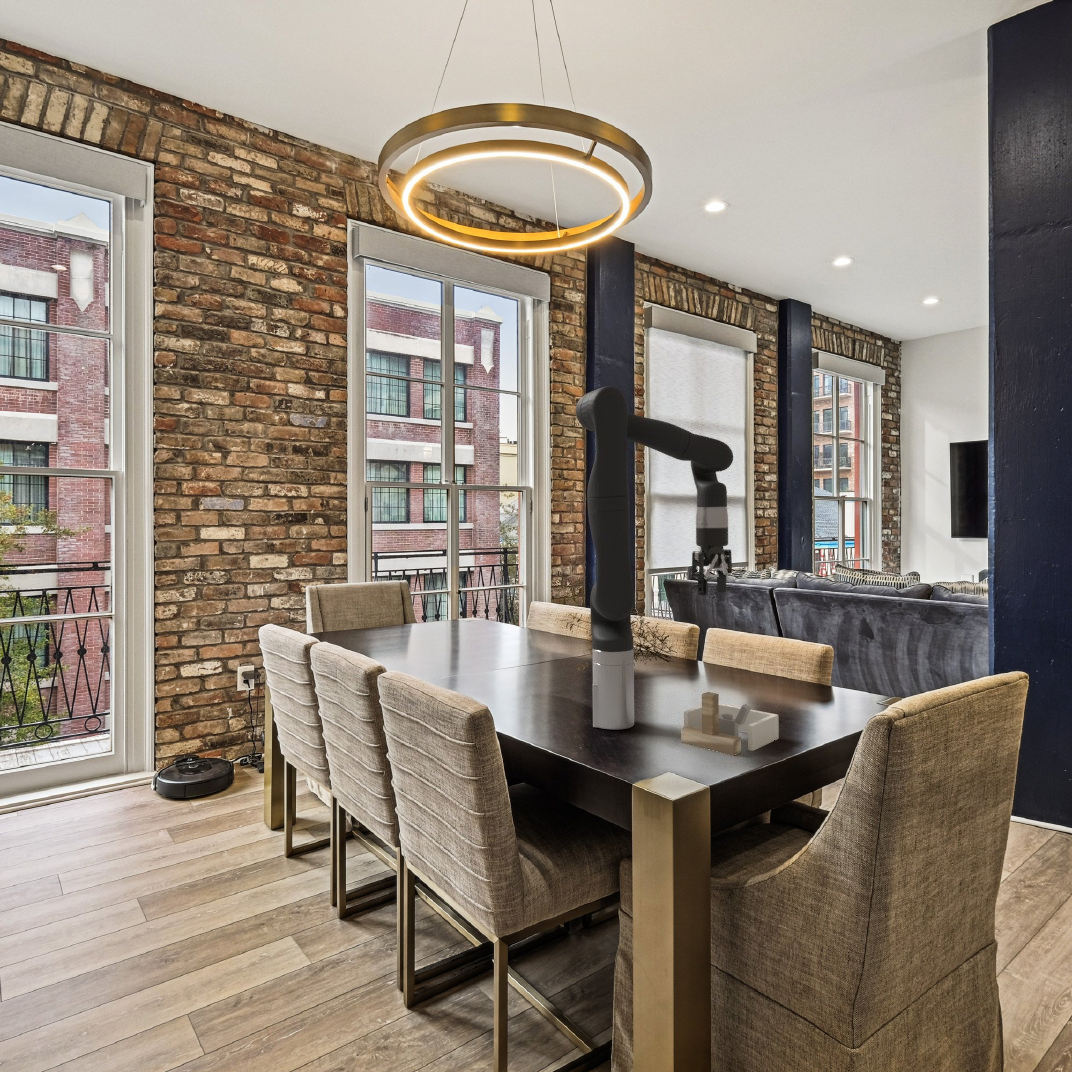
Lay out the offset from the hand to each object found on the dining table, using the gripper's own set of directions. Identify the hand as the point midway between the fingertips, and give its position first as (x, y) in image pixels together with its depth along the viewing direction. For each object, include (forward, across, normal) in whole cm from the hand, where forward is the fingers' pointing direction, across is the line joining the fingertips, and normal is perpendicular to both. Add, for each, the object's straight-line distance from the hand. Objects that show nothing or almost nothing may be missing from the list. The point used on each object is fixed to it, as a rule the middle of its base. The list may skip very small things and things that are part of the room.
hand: (712, 593), depth 176 cm
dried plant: (+28, +11, +39) cm, 49 cm away
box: (+28, -17, -14) cm, 36 cm away
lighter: (+28, -18, -16) cm, 37 cm away
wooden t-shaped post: (+28, -26, -15) cm, 41 cm away
